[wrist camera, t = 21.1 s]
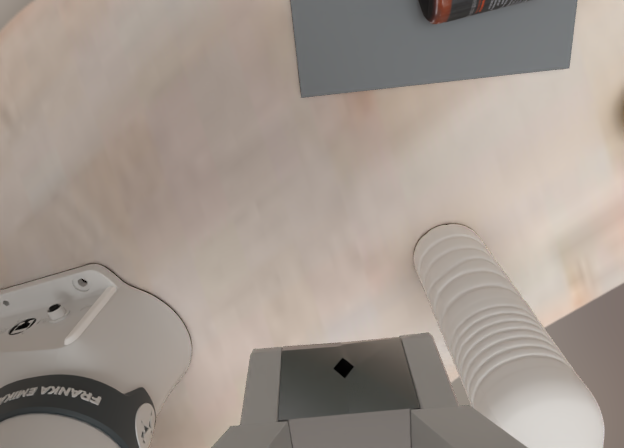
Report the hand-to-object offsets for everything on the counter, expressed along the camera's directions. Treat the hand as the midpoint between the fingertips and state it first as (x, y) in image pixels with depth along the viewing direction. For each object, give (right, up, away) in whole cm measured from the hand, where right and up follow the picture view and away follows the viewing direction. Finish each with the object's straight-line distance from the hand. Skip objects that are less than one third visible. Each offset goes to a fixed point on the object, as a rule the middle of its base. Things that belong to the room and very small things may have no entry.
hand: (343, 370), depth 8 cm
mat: (+8, +20, +27) cm, 35 cm away
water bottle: (+11, -1, +37) cm, 39 cm away
